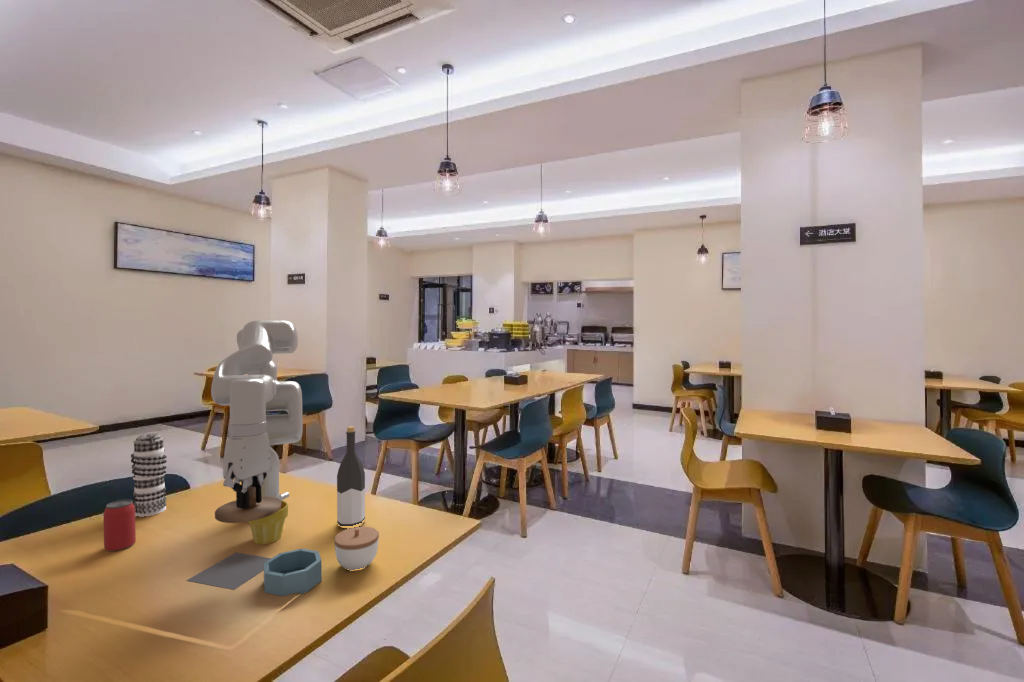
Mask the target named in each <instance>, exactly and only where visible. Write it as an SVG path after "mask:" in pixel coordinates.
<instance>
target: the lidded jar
mask: <svg viewBox="0 0 1024 682" xmlns="http://www.w3.org/2000/svg"><path fill="white" fill-rule="evenodd" d="M333 539H334V551H335V556H336V557H335V558H336V560H337V562H338V564H339V565H340V566H341V567H342V568H344V569H345V568H346V569H349V570H355V569H360V568H364V567H366V566H367V565H369V566H370V564H371V563H372V562H373V561H374V560H375V557H376V555H377V553H378V548H379V539H380V532H379V531H378V529H376V528H374V527H372V526H371V527H370V526H360V527H354V528H349V529H343V530H342V531H340V532H338V533H337V534H336V536H334V538H333Z"/></svg>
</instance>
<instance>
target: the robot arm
mask: <svg viewBox="0 0 1024 682" xmlns="http://www.w3.org/2000/svg"><path fill="white" fill-rule="evenodd" d="M236 343H237V344H236V345H237V347H238V350H236V351H235V352H233V353H230V355H227V357H225V358H224V359H222V360H221V361H220V362H219V363H218V365H217V366H216V368H215V371H214V373H213V377H212V382H211V389H210V395H211V399H212V400H213V402H214V403H215V404H217V405H219V406H229V427H230V428H229V437H228V438H227V439H226V441H225V446H224V451H223V452H224V454H223V463H222V465H223V466H222V477H223V479H224V480H223V487H227V488H230V489H232V491H233V492H235V495H236V497H235V498H236V499H235V500H236V506H237V508H244V509H247V508H249V492H248V491H247V487H249V486H255V487H256V503H260V502H261V501H262V496H270V497H276V498H278V499H280V500H282V501H284V500H286V499H287V498H290V492H288V491H284V492H283V493H280V459H279V455H278V453H277V452H276V451H275V450H274V449H273V448H272V447H271V446H275V445H284V444H285V445H286V444H293V443H295V444H296V443H298V442H300V441H301V439H302V437H303V431H304V430H303V429H304V426H303V425H304V423H303V420H304V419H303V391H302V388H301V385H300V384H299V382H297V381H294V380H293V381H291V380H285V381H284V380H283V381H278V367H277V365H276V363H275V362H274V361H273V354H274V355H275V354H276V355H277V354H286V355H287V354H293V353H295V351H297V348H298V345H299V344H298V343H299V339H298V331H297V328H296V325H295V324H294V323H293V322H291V321H288V320H279V319H278V320H277V319H275V320H273V319H272V320H270V319H269V320H268V319H267V320H266V319H263V320H261V319H259V320H258V319H257V320H251V321H249V322H247V323H246V324H244V326H243V328H242V329H240V330H239V331H237V334H236ZM273 411H274V412H275V411H276V412H277V411H285V412H287V413H285V414H267V413H266V412H273ZM266 414H267V415H266Z"/></svg>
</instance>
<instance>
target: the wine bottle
mask: <svg viewBox="0 0 1024 682" xmlns="http://www.w3.org/2000/svg"><path fill="white" fill-rule="evenodd" d="M345 434H346V453H345V455H344V456H343V459H342V460H341V462H340V464H339V467H338V471H337V474H336V509H337V510H336V513H337V514H336V518H337V519H336V521H337V523H338V524H339V525H340V526H353V525H356V524H359V523H362V521H363V520H364V519H365V520H366V472H365V467H364V466H363V462H362V460H361V458H360V457H359V455H358V454H357V452H356V431H355V426H354V425H352V426H351V425H350V426H347V429H346V431H345ZM337 523H336V524H337ZM338 524H337V525H338Z"/></svg>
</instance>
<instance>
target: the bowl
mask: <svg viewBox="0 0 1024 682" xmlns="http://www.w3.org/2000/svg"><path fill="white" fill-rule="evenodd" d="M270 558H271V559H270V560H268V561H267V562H265V563H264V571H263V589H264V593H265V594H270V595H274V596H281V597H285V596H288V595H292V594H296V595H302V594H306V593H308V592H309V591H311V590H312V589H313V588H315V585H316V584H317V585H318V584H319V583H320V582H322V581H321V580H322V576H323V575H322V572H323V571H322V570H323V569H322V568H323V567H322V557H321V555H320V552H319V550H313V549H308V548H298V549H294V550H289V551H284V552H279V553H278V554H276V555H275V556H273V557H270ZM317 585H316V586H317Z"/></svg>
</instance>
